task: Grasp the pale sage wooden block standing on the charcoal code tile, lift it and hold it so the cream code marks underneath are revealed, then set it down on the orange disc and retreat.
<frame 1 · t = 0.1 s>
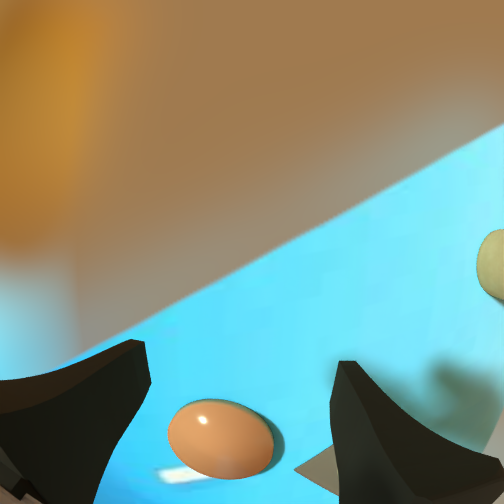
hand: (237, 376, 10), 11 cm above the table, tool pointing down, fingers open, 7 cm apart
candle: (496, 262, 18), on the table
code tile: (369, 463, 21), on the table
orange disc: (221, 439, 22), on the table
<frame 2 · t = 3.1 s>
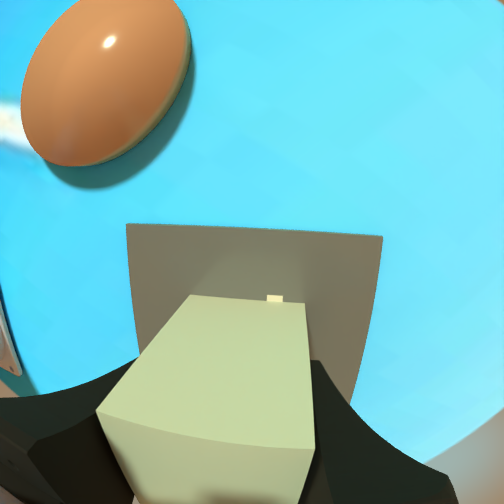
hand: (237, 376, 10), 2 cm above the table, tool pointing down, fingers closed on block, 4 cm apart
block: (244, 348, 12), resting on code tile, touching gripper
code tile: (245, 346, 12), on the table
orange disc: (97, 70, 10), on the table
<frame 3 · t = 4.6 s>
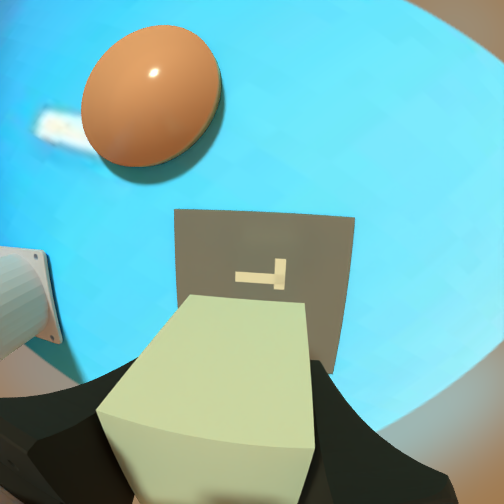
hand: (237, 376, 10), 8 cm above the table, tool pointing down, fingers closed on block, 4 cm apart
block: (244, 348, 12), point 6 cm above the table, touching gripper
code tile: (259, 298, 17), on the table
orange disc: (148, 94, 15), on the table
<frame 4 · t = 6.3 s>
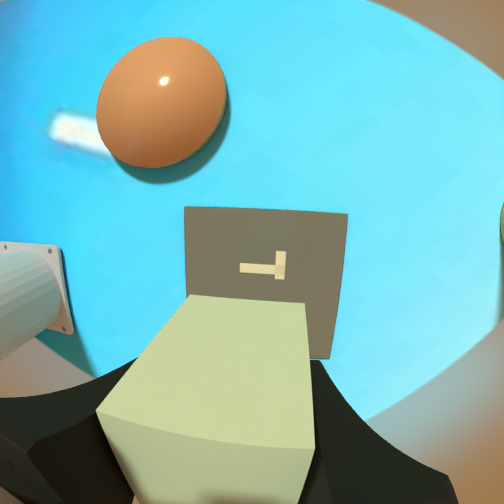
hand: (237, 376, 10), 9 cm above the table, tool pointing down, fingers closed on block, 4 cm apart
block: (244, 348, 12), point 7 cm above the table, touching gripper
code tile: (261, 287, 19), on the table
orange disc: (159, 101, 17), on the table
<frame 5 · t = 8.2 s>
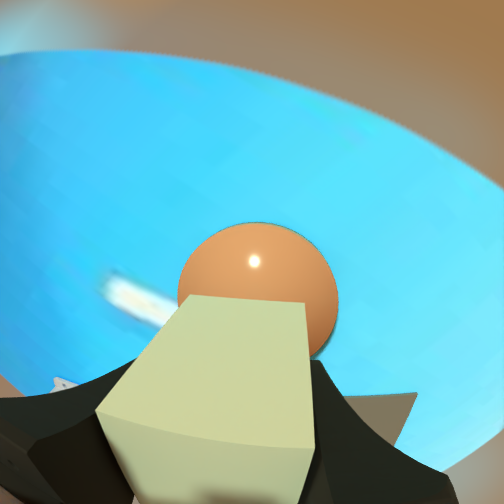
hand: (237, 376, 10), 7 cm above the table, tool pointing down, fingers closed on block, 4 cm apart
block: (244, 348, 12), point 5 cm above the table, touching gripper
code tile: (340, 440, 19), on the table
orange disc: (257, 300, 17), on the table
when the fingers open (4 cm above the table, at t = 9.7 s): block drops 1 cm, resting on orange disc.
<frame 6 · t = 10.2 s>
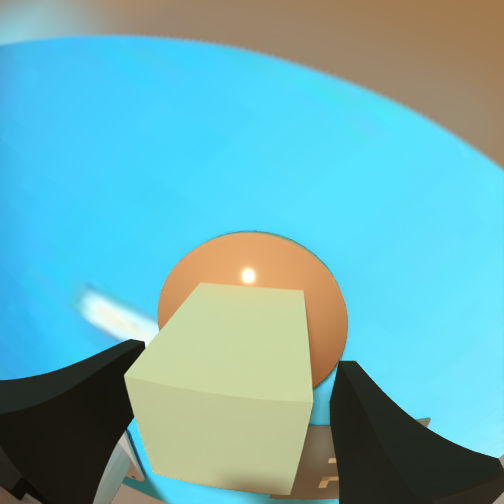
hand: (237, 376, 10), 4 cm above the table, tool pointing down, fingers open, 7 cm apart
block: (249, 332, 13), point 1 cm above the table, touching orange disc
code tile: (343, 467, 17), on the table
orange disc: (251, 322, 14), on the table
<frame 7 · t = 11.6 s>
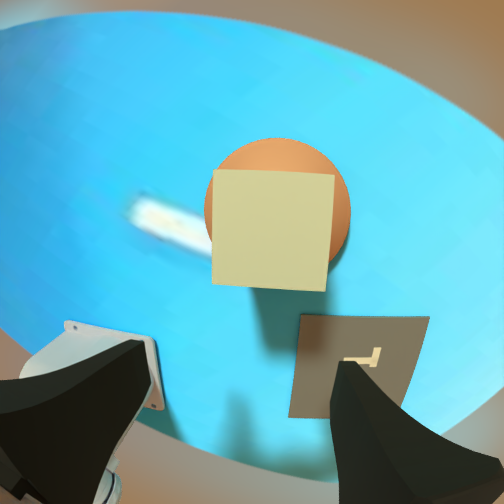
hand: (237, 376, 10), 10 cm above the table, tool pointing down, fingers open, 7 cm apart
block: (277, 212, 18), point 1 cm above the table, touching orange disc
code tile: (357, 372, 21), on the table
orange disc: (277, 210, 19), on the table
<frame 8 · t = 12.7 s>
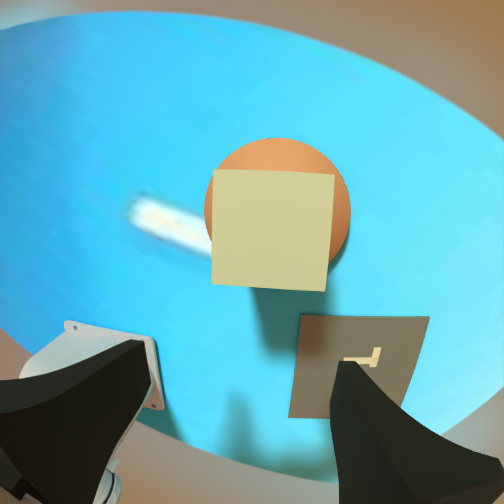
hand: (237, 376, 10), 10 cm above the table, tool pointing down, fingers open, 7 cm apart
block: (277, 212, 18), point 1 cm above the table, touching orange disc
code tile: (357, 372, 21), on the table
orange disc: (277, 210, 19), on the table
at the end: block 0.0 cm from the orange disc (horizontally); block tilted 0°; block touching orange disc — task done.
